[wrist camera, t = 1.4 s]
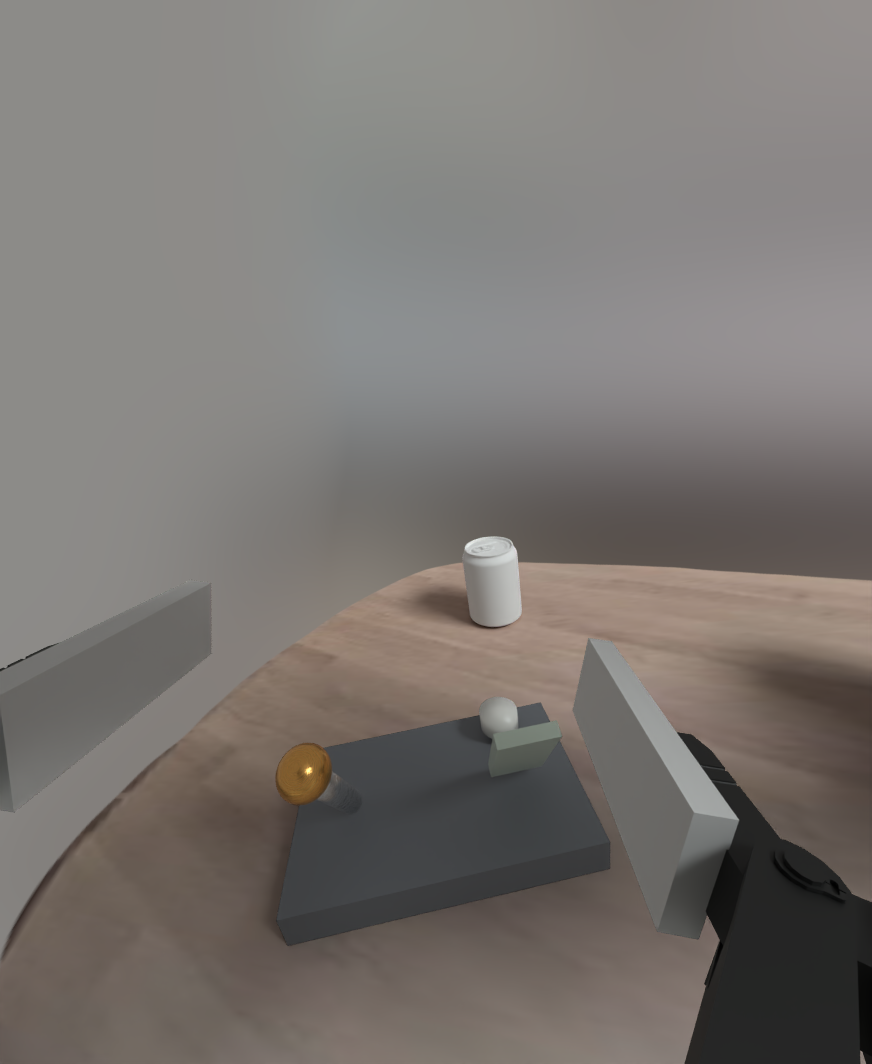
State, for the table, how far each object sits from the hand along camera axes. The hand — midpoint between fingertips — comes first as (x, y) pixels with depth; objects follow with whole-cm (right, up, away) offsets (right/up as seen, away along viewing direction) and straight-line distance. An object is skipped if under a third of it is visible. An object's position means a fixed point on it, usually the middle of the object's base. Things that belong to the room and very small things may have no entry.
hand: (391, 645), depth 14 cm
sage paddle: (+8, -17, +22) cm, 28 cm away
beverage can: (+11, -9, +51) cm, 53 cm away
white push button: (+8, -16, +26) cm, 31 cm away
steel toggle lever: (-5, -19, +21) cm, 29 cm away
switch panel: (+2, -21, +22) cm, 31 cm away
